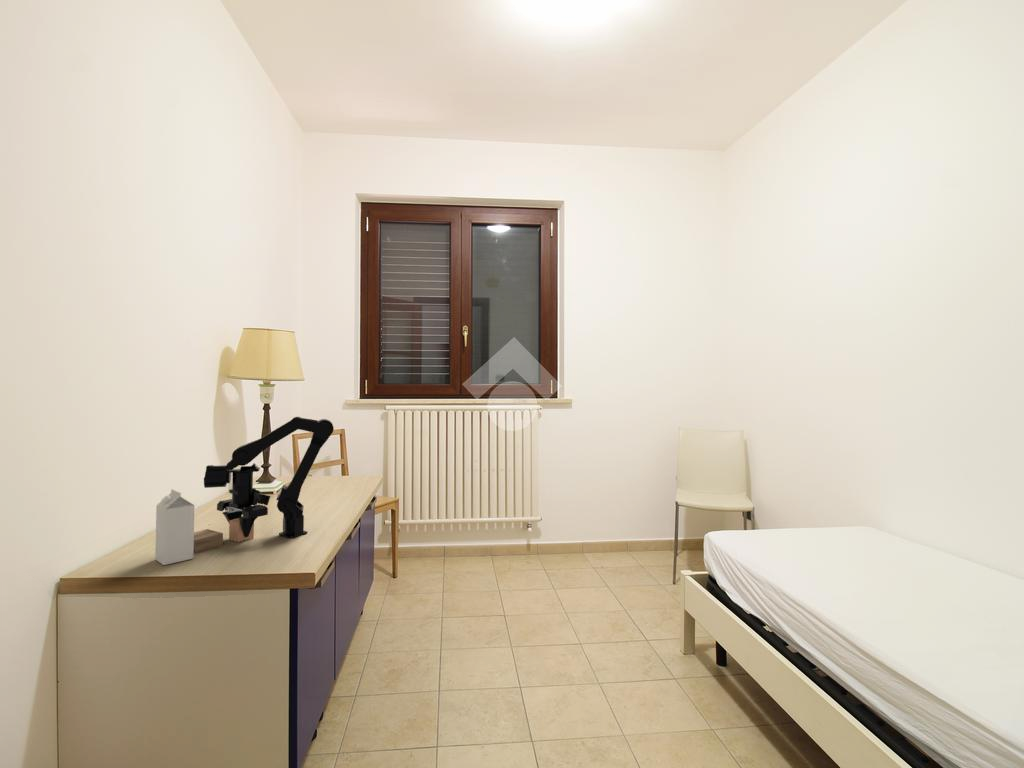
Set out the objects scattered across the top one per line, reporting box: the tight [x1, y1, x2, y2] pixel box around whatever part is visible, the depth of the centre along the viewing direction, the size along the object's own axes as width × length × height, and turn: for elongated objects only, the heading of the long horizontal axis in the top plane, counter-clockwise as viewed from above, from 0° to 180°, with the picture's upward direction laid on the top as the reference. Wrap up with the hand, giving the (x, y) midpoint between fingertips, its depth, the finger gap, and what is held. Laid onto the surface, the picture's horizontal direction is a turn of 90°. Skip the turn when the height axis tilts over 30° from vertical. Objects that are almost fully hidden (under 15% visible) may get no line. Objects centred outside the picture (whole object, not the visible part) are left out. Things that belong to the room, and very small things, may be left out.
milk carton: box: [154, 488, 195, 566], centre depth 138 cm, size 7×7×19 cm
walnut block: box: [193, 528, 224, 554], centre depth 149 cm, size 8×8×4 cm
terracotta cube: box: [228, 518, 255, 543], centre depth 158 cm, size 5×5×6 cm
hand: (241, 535), depth 158 cm, fingers closed on terracotta cube, 5 cm apart
